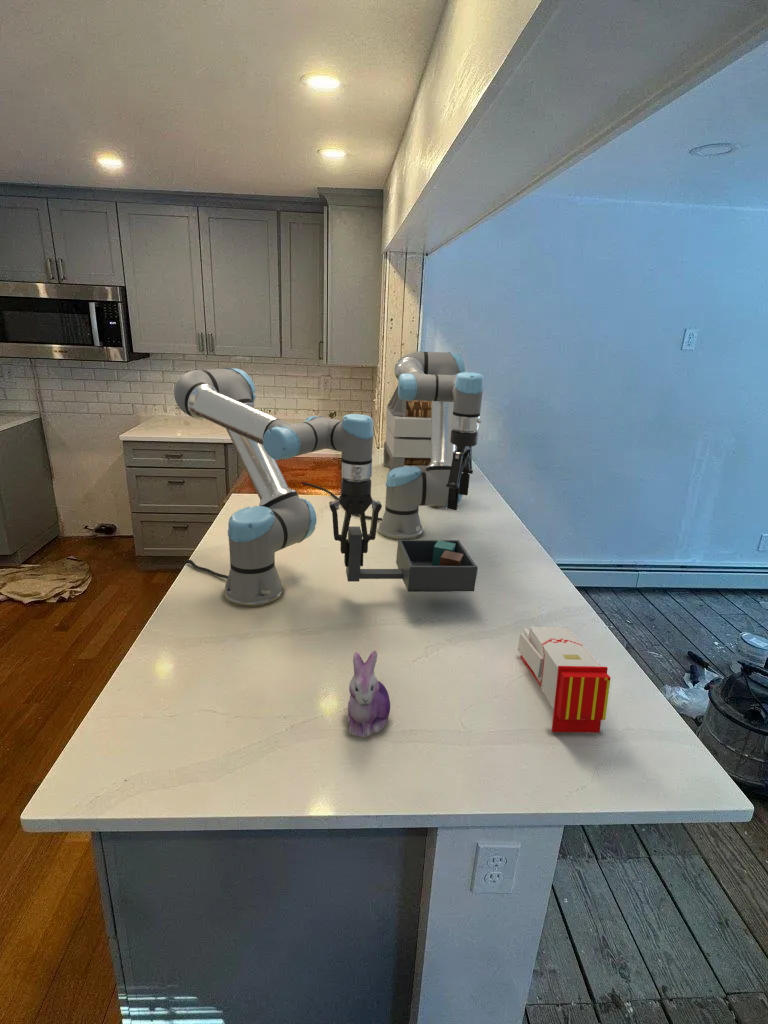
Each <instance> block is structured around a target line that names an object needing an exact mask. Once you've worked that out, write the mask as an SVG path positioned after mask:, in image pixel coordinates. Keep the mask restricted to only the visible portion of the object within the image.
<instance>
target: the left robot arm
mask: <svg viewBox="0 0 768 1024" xmlns="http://www.w3.org/2000/svg"><path fill="white" fill-rule="evenodd" d="M255 392H256V386H255V384H254V382H253V380H252V377H250V375H249V374H248V373H247V372H246V371H244V370H242V369H240V368H235V367H221V368H213V369H212V368H211V369H197V370H195V369H194V370H191V371H187V372H185V373H184V374H183V375H181V376H180V377H179V378H178V379H177V381H176V383H175V385H174V390H173V397H174V401H175V403H176V406H178V408H179V410H181V411H182V412H183V413H184V414H185V415H187V416H189V417H191V418H193V419H196V420H198V421H205V420H207V421H209V422H211V423H214V424H215V425H217V426H220V427H221V428H225V430H226V432H227V434H228V436H229V437H230V440H231V441H232V444H233V446H234V448H235V450H236V452H237V454H238V456H239V459H240V461H241V463H242V465H243V468H244V469H245V471H246V473H247V475H248V477H249V479H250V482H251V483H252V485H253V488H254V490H255V492H256V494H257V496H258V498H259V501H260V502H259V505H254V506H252V507H251V506H246V507H243V508H241V509H238V510H237V511H235V512H234V513H232V514H231V515H230V517H229V519H228V527H227V537H228V547H229V548H228V549H229V567H230V568H229V573H228V575H227V574H223V573H220V572H219V573H218V572H217V571H213V570H212V569H209V568H207V567H202V566H199V565H197V564H196V563H195V562H194V561H193V560H192V559H187V560H186V561H185V564H187V563H188V564H190V565H191V566H192V567H193V568H194V569H196V570H199V571H203V572H207V573H209V574H211V575H213V576H216V577H219V578H222V579H226V582H225V585H224V599H225V600H226V601H228V603H231V604H233V605H236V606H239V607H248V608H249V607H250V608H251V607H261V606H265V605H269V604H271V603H273V602H275V601H277V600H278V599H280V597H282V595H283V585H282V581H281V578H280V576H279V573H278V571H277V568H276V562H275V561H276V557H275V555H276V554H275V553H277V552H279V551H280V550H283V549H286V548H287V547H290V546H293V545H295V544H300V543H302V542H303V541H304V540H306V539H308V538H310V537H311V536H312V535H313V534H314V532H315V530H316V525H317V513H316V510H315V508H314V505H313V504H312V502H310V501H308V500H307V499H306V498H303V497H302V498H301V497H300V496H299V494H298V493H297V490H295V489H293V488H290V487H289V486H288V483H287V482H286V479H285V477H284V476H283V474H282V471H281V470H280V467H279V465H278V463H277V461H281V460H289V459H292V458H295V457H299V456H302V455H305V454H309V453H310V454H311V453H314V452H318V451H323V450H331V451H336V452H341V462H340V463H341V466H340V469H341V470H340V476H341V477H342V478H341V479H340V494H339V497H338V498H339V500H334V501H332V500H331V501H329V502H328V505H329V509H330V511H331V517H332V531H333V539H334V541H338V542H340V549H339V550H340V553H341V554H344V559H343V560H344V561H343V562H344V563H343V564H344V567H346V566H348V552H349V542H348V528H349V526H350V523H351V520H352V516H354V515H353V514H359V515H360V517H359V521H360V529H361V532H362V549H361V564H360V567H364V554H367V553H368V550H369V542H370V541H375V540H376V535H377V529H378V521H379V520H378V518H379V514H380V511H381V510H382V507H383V506H382V503H381V501H379V500H377V501H376V500H374V499H373V497H372V479H371V478H372V471H373V445H374V437H375V433H374V420H373V418H372V417H371V416H370V415H367V414H358V413H349V414H345V415H343V417H342V420H339V419H335V418H330V417H326V416H323V415H319V416H317V415H309V416H308V417H306V419H305V420H303V421H301V422H296V423H295V422H294V423H291V422H288V421H286V420H283V419H281V418H278V417H277V416H274V415H271V414H269V413H267V412H265V411H262V410H260V409H258V408H255V400H256V397H257V396H256V393H255ZM276 460H277V461H276ZM340 506H341V507H342V509H343V510H344V517H343V523H342V527H341V532H340V533H339V531H340V530H339V516H338V515H339V514H338V510H339V509H340ZM370 506H371V509H372V512H371V517H372V519H370V527H369V533H368V525H367V518H365V516H366V511H367V510H368V509H369V508H370Z"/></svg>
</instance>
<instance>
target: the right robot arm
mask: <svg viewBox="0 0 768 1024" xmlns="http://www.w3.org/2000/svg"><path fill="white" fill-rule="evenodd" d="M394 376H395V378H396V380H397V386H398V397H399V399H401V400H408V401H432V407H431V462H430V464H429V465H428V466H425V471H422V469H421V468H420V467H419V466H407V465H404V467H398V468H395V469H392V470H391V471H390V470H388V473H387V475H386V482H385V487H386V488H385V489H386V490H385V504H384V505H385V507H384V508H385V509H384V513H383V515H382V517H378V521H379V525H378V533H379V534H380V535H381V536H382V537H385V538H387V539H389V540H395V541H398V540H416V539H418V538H420V537H421V536H422V535H423V525H422V524H421V518H420V515H419V507H420V506H421V507H423V506H424V507H425V506H426V507H431V506H440V507H444V508H446V509H447V510H453V511H457V510H458V505H459V504H460V503H461V501H462V498H463V496H468V495H469V488H470V487H469V486H470V477H471V475H473V474H474V470H473V447H475V446H477V444H478V441H479V440H478V437H479V432H478V430H479V428H480V424H481V423H482V419H480V417H481V411H482V401H483V392H484V389H485V386H484V382H485V381H484V379H485V377H484V375H483V374H481V373H477V372H471V371H468V372H467V371H466V364H465V359H464V358H463V356H462V355H461V354H460V353H459V352H458V353H456V352H451V351H447V352H445V351H443V352H442V351H420V350H419V351H413V352H409V353H406V354H405V355H403V356H401V357H400V358H399V359H398V360H397V361H396V363H395V364H394ZM455 445H456V446H457V450H455ZM301 483H302V485H304V486H308V487H311V488H315V489H318V490H320V491H323V492H325V493H327V494H329V495H330V496H332V497H333V498H334V499H335V501H337V500H339V497H338V496H337V495H335V494H334V493H333V492H331V491H330V490H328V489H326V488H324V487H322V486H318V485H315V484H312V483H308V482H304V481H302V482H301ZM352 516H355V517H358V518H360V515H359V514H353V515H352ZM365 519H366V520H371V519H372V515H365Z"/></svg>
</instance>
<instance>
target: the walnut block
mask: <svg viewBox="0 0 768 1024" xmlns="http://www.w3.org/2000/svg"><path fill="white" fill-rule="evenodd" d="M462 561H463V554H461V553H456V552H451V551H446V550H445V551H444V553H443V554H442V556H441V558H440V566H462Z"/></svg>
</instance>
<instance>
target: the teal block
mask: <svg viewBox="0 0 768 1024" xmlns="http://www.w3.org/2000/svg"><path fill="white" fill-rule="evenodd" d="M437 540H438V541H437V543H436V544H435V546H434V551H433V559H432V566H440V558H441V556H442V554H443V553H444V551H445V550H446V551H451V552H455V545H456V544H455V543H450V542H444V541H439V540H440V539H437Z"/></svg>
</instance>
